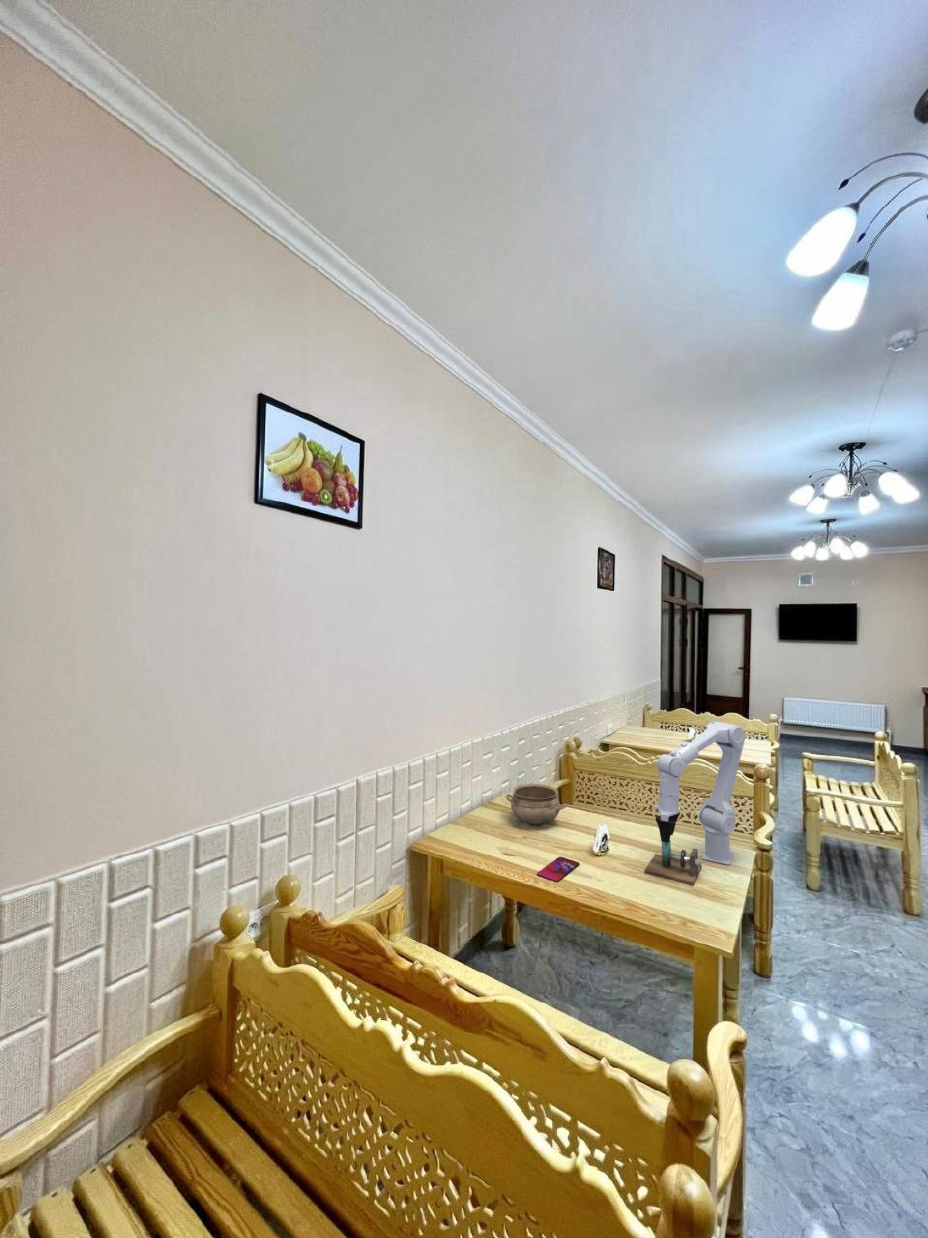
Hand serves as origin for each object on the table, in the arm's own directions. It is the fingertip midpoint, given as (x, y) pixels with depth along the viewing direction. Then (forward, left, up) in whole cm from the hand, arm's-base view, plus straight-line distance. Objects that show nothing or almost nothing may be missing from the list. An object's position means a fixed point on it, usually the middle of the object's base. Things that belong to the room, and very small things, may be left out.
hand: (667, 838), depth 158 cm
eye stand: (0, +2, -10) cm, 10 cm away
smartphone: (+19, -28, -11) cm, 36 cm away
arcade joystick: (0, +4, -8) cm, 9 cm away
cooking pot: (-11, -51, -10) cm, 54 cm away
